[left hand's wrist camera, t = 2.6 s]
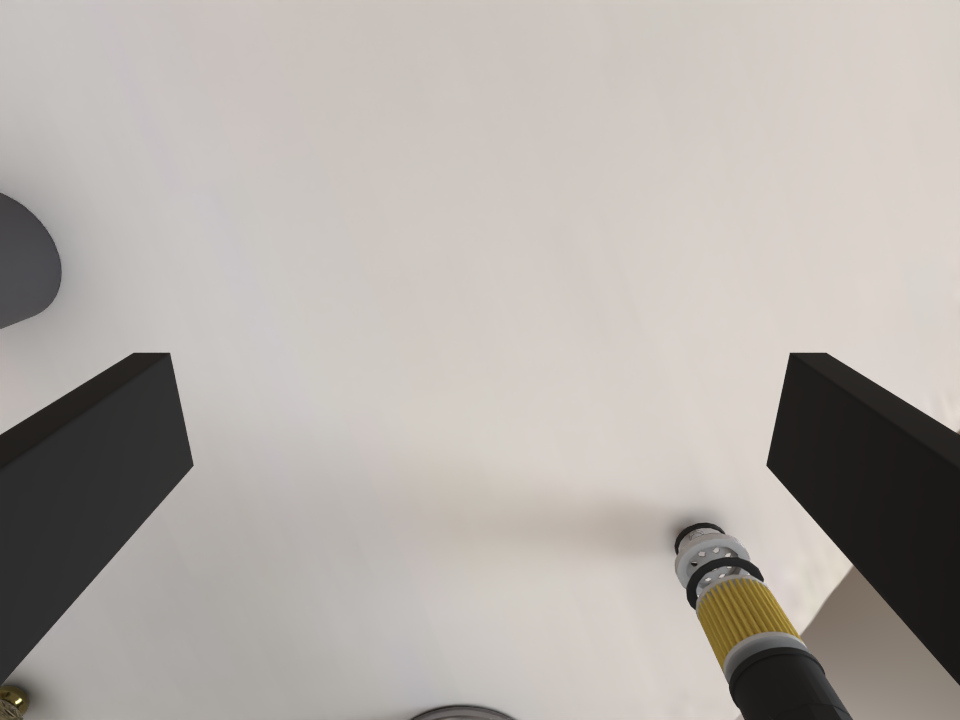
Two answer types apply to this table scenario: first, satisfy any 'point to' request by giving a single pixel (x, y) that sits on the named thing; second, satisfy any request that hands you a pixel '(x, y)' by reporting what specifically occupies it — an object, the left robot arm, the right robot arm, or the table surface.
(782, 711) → the filter
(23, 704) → the cup
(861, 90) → the table surface
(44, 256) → the jar
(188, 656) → the table surface
